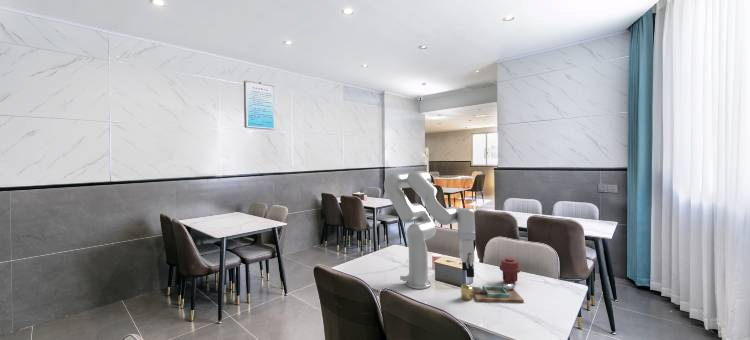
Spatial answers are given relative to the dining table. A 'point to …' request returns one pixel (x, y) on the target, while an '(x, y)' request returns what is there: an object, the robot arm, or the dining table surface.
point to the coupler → (466, 292)
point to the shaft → (508, 287)
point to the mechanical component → (510, 270)
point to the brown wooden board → (495, 294)
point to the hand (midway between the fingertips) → (468, 273)
